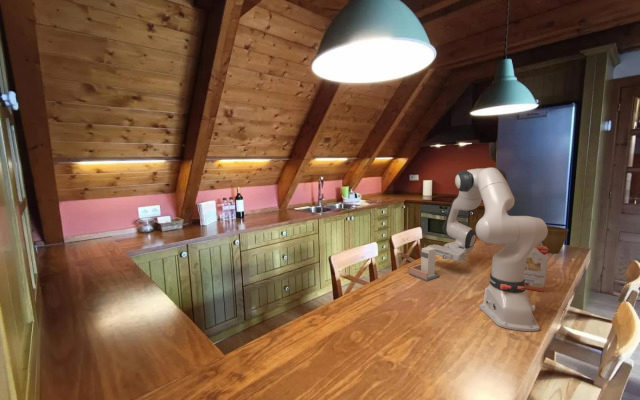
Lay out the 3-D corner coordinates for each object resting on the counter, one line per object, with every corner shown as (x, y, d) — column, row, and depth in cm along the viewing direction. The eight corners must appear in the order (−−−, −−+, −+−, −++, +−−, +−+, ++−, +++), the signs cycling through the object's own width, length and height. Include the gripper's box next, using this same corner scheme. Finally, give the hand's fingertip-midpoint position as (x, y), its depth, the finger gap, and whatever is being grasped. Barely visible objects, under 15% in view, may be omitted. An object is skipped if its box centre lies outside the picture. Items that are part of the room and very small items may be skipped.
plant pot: (571, 254, 191) (574, 229, 189) (553, 256, 188) (555, 231, 186) (549, 247, 205) (551, 225, 203) (531, 249, 202) (533, 226, 200)
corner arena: (439, 277, 156) (439, 269, 156) (426, 281, 151) (426, 274, 150) (421, 270, 166) (422, 263, 165) (408, 274, 160) (409, 267, 160)
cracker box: (508, 287, 143) (512, 244, 141) (507, 282, 149) (511, 241, 146) (544, 292, 137) (549, 248, 134) (542, 287, 142) (546, 245, 139)
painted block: (434, 274, 157) (435, 248, 155) (427, 276, 154) (428, 250, 152) (427, 271, 160) (428, 246, 158) (420, 274, 157) (421, 248, 156)
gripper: (435, 240, 175) (420, 244, 168) (469, 249, 158) (453, 254, 150) (435, 251, 176) (419, 255, 168) (468, 261, 159) (452, 266, 151)
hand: (435, 254), depth 159 cm, fingers open, 8 cm apart
